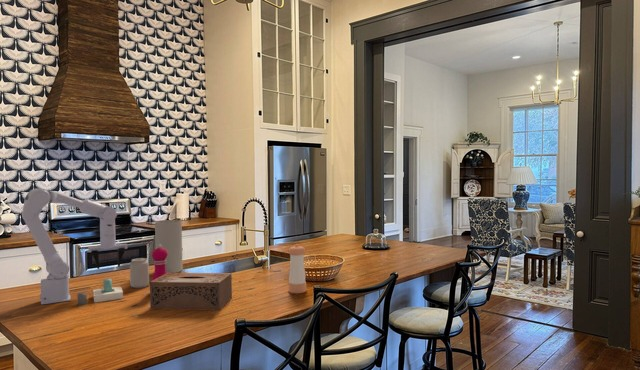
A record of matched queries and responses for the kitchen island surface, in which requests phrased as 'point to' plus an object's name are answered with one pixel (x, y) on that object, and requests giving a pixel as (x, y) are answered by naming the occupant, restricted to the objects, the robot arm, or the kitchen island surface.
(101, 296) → the hole block
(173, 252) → the cylinder vase
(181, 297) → the tissue box cover
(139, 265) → the can
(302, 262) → the pepper shaker
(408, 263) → the kitchen island surface
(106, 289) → the long dowel
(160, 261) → the pepper mill
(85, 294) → the short dowel
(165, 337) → the kitchen island surface
